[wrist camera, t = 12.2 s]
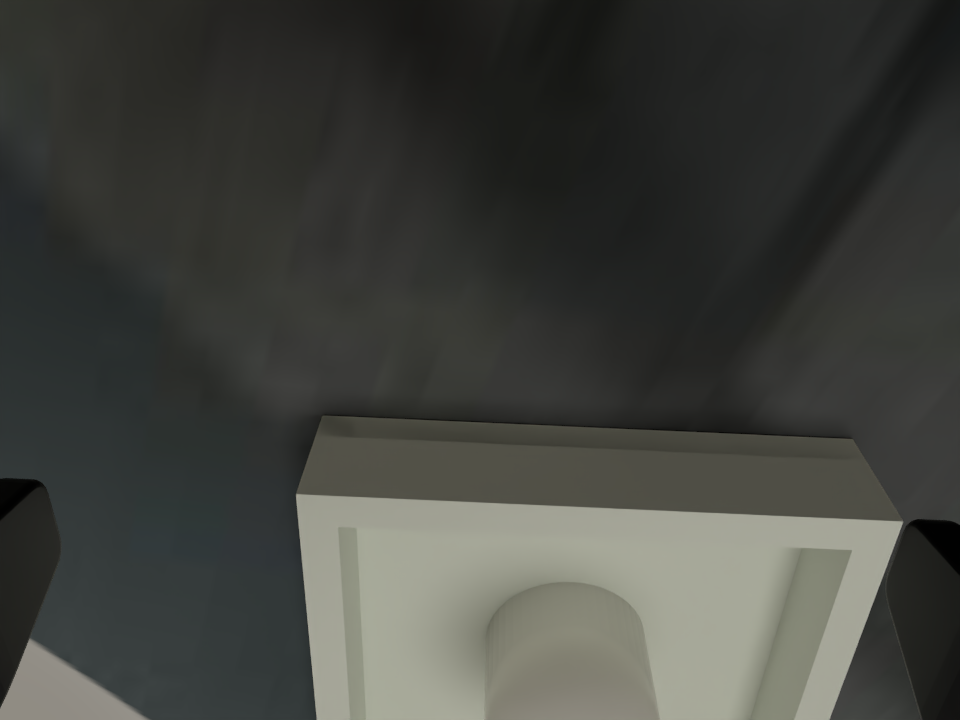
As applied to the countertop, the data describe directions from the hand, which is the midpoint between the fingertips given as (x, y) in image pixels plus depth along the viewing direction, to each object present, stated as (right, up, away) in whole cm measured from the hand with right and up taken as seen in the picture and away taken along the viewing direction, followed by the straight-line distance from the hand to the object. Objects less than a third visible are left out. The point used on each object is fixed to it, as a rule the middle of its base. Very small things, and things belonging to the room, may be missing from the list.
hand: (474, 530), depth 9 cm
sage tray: (+3, -7, +19) cm, 20 cm away
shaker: (+3, -7, +18) cm, 19 cm away
